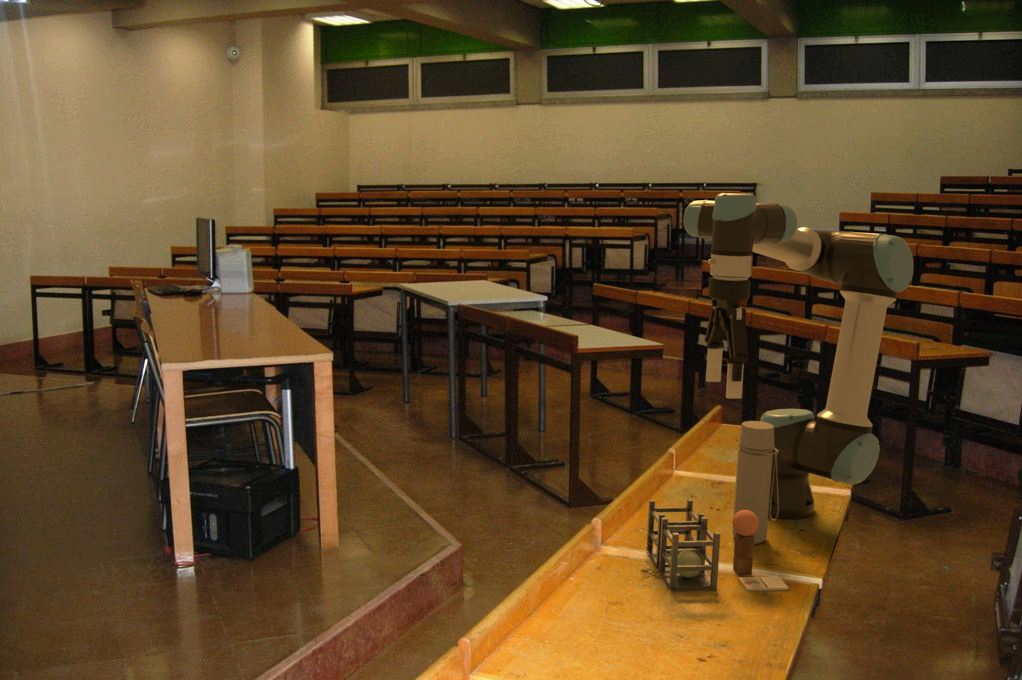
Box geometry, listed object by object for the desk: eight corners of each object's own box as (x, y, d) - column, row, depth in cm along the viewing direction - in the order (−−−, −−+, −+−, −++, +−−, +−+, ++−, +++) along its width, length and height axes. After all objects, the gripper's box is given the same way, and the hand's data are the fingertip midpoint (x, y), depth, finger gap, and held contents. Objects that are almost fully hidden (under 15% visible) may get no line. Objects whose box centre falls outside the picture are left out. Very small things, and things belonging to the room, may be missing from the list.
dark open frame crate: (702, 570, 190) (706, 516, 188) (716, 589, 182) (720, 533, 180) (658, 571, 190) (661, 517, 188) (670, 590, 181) (673, 534, 179)
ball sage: (696, 570, 188) (697, 546, 187) (704, 581, 183) (705, 556, 182) (671, 571, 188) (672, 546, 187) (678, 582, 183) (679, 557, 182)
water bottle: (729, 543, 205) (736, 427, 200) (734, 530, 212) (741, 418, 208) (774, 549, 202) (783, 432, 197) (777, 536, 209) (786, 423, 204)
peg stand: (746, 568, 192) (749, 531, 190) (751, 574, 189) (754, 537, 188) (732, 568, 192) (735, 532, 190) (737, 574, 189) (740, 537, 187)
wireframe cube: (688, 550, 200) (691, 499, 198) (701, 567, 192) (704, 514, 190) (646, 551, 199) (649, 499, 197) (657, 568, 191) (660, 515, 189)
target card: (778, 578, 188) (778, 576, 187) (788, 589, 183) (788, 587, 183) (738, 579, 187) (738, 576, 187) (747, 590, 182) (747, 588, 182)
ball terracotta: (752, 530, 192) (754, 505, 191) (761, 539, 187) (763, 515, 186) (728, 530, 191) (729, 506, 190) (736, 540, 186) (738, 515, 185)
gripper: (693, 269, 193) (687, 375, 197) (729, 285, 168) (722, 405, 172) (730, 270, 193) (723, 375, 197) (772, 286, 169) (763, 405, 173)
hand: (723, 389), depth 185 cm, fingers open, 13 cm apart
